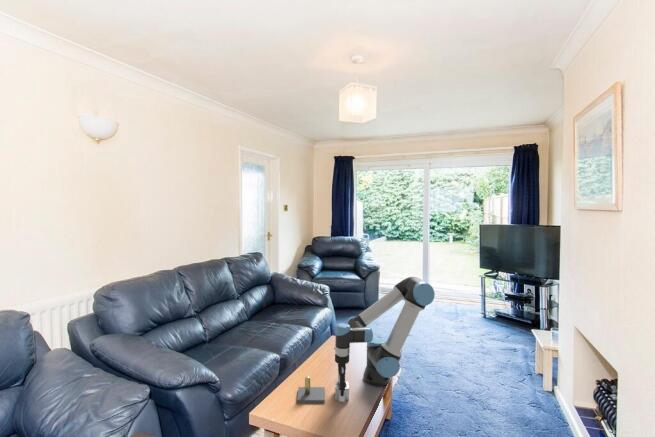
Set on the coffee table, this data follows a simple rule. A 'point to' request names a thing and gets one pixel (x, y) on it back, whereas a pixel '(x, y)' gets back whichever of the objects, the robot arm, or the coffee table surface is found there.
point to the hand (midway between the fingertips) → (341, 393)
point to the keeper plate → (311, 395)
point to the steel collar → (337, 385)
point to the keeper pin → (307, 385)
